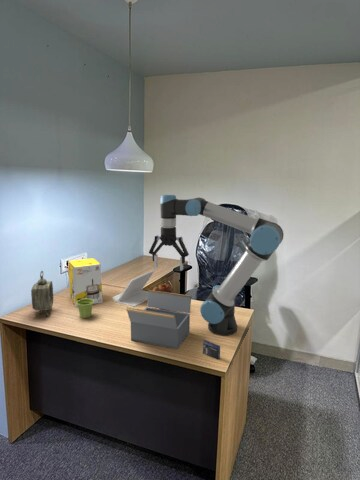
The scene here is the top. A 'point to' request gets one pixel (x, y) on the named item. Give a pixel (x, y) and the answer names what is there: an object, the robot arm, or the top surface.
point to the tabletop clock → (42, 295)
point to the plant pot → (85, 307)
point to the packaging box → (85, 280)
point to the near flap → (152, 318)
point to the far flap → (169, 301)
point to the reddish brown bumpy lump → (162, 288)
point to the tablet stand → (134, 291)
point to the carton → (162, 331)
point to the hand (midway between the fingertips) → (168, 268)
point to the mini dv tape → (211, 349)
